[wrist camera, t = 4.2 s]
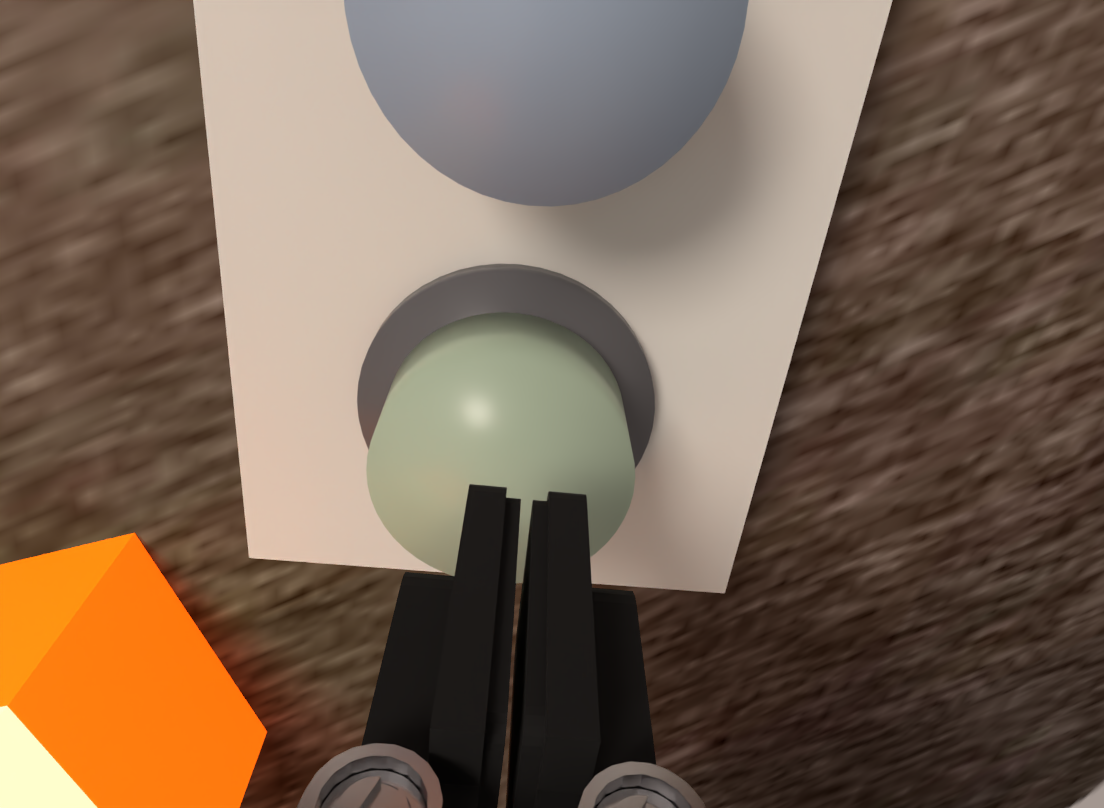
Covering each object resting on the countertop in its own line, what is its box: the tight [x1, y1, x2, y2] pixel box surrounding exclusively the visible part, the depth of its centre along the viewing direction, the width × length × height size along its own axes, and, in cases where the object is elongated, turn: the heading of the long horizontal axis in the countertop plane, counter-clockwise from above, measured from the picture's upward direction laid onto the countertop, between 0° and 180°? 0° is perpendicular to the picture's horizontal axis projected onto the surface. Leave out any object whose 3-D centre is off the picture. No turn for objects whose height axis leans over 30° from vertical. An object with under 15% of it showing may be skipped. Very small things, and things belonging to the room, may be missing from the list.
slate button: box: [344, 0, 749, 206], centre depth 11 cm, size 5×5×2 cm
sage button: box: [366, 312, 635, 583], centre depth 15 cm, size 5×5×2 cm
